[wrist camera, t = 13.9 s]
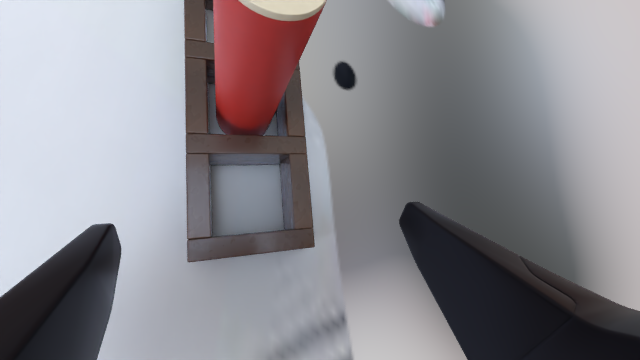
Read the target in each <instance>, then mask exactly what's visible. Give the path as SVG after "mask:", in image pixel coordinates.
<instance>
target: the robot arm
mask: <svg viewBox="0 0 640 360" xmlns="http://www.w3.org/2000/svg"><path fill="white" fill-rule="evenodd" d="M399 224H400V227H401V229H402V232H403V234H404V237H405V239H406V241H407V244H408V246H409V248H410V251H411V253H412V255H413V258H414V260H415V262H416V264H417V266H418V268H419V270H420V272H421V274H422V276H423V277H424V279H425V281H426V283H427V285H428V287H429V289H430V290H431V292H432V294H433V296H434V298H435V300H436V302H437V303H438V305H439V307H440V309H441V311H442V313H443V314H444V316H445V318H446V320H447V322H448V324H449V326H450V328H451V330H452V331H453V333H454V335H455V337H456V339H457V341H458V342H459V344H460V346H461V348H462V350H463V352H464V354H465V356H466V357H467V359H468V360H640V311H637V310H634V309H630V308H627V307H625V306H622V305H619V304H617V303H615V302H612V301H611V300H609V299H607V298H604V297H602V296H600V295H598V294H596V293H594V292H592V291H590V290H587V289H585V288H583V287H581V286H579V285H577V284H575V283H573V282H571V281H569V280H567V279H565V278H563V277H560V276H558V275H556V274H554V273H552V272H550V271H548V270H546V269H544V268H543V267H541V266H539V265H536V264H535V263H533V262H531V261H529V260H527V259H525V258H523V257H521V256H518V255H517V254H515V253H514V252H512V251H509V250H508V249H506V248H504V247H503V246H501V245H499V244H497V243H495V242H493V241H491V240H489V239H487V238H486V237H484V236H482V235H480V234H478V233H476V232H474V231H472V230H470V229H469V228H466V227H465V226H463V225H461V224H459V223H457V222H455V221H454V220H452V219H450V218H448V217H446V216H444V215H442V214H440V213H438V212H437V211H435V210H433V209H431V208H429V207H427V206H425V205H423V204H421V203H419V202H409V203H407V204H406V206H405V208H404V210H403V212H402V215H401V217H400V220H399ZM120 258H121V244H120V241H119V238H118V235H117V232H116V228H115V226H114V225H113V224H111V223H108V224H95V225H92V226H90V227H89V228H88V229H86V230H85V231H84V232H83V233H81V234H80V235H79V236H78V237H76V238H75V239H74V240H72V241H71V242H70V243H69V244H67V245H66V246H65V247H64V248H62V249H61V250H60V251H58V252H57V253H56V254H55V255H53V256H52V257H51V258H50V259H48V260H47V261H46V262H45V263H43V264H42V265H41V266H39V267H38V268H37V269H36V270H34V271H33V272H32V273H31V274H29V275H28V276H27V277H25V278H24V279H23V280H22V281H20V282H19V283H18V284H17V285H15V286H14V287H13V288H11V289H10V290H9V291H8V292H6V293H5V294H4V295H3V296H1V297H0V360H97V357H98V354H99V350H100V347H101V344H102V341H103V337H104V334H105V331H106V327H107V324H108V321H109V317H110V314H111V310H112V304H113V299H114V293H115V287H116V281H117V275H118V270H119V264H120Z"/></svg>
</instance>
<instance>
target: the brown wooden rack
mask: <svg viewBox="0 0 640 360" xmlns="http://www.w3.org/2000/svg"><path fill="white" fill-rule="evenodd" d="M206 9H210V10H213V0H184V24H185V103H186V153H187V154H186V187H187V239H189V240H187V261H188V262H196V261H204V260H212V259H221V258H229V257H237V256H245V255H254V254H262V253H270V252H279V251H287V250H295V249H303V248H312V247H314V246H315V245H314V233H313V220H312V208H311V196H310V184H309V172H308V160H307V150H306V138H305V126H304V115H303V103H302V91H301V80H300V71H299V70H300V68H299V62H298V64H297V66H296V68H295V70H294V73H293V75H292V77H291V79H290V81H289V83H288V85H287V88H286V90H285V92H284V94H283V96H282V98H281V101H280V103H279V105H278V107H277V109H276V111H277V126H278V136H259V135H223V134H209V99H208V83H215V53H214V43H209V42H207V24H206ZM260 164H280V172H281V186H282V201H283V216H284V229H285V230H279V231H268V232H258V233H247V234H236V235H226V236H215V237H212V211H211V173H210V165H260Z"/></svg>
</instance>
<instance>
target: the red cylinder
mask: <svg viewBox="0 0 640 360" xmlns="http://www.w3.org/2000/svg"><path fill="white" fill-rule="evenodd" d="M326 1H327V0H213V13H214V53H215V93H216V118H217V122H218V124H219V126H220V128H221V129H222V130H223V132H224V133H225V134H227V135H259V136H262V135H263V134H264V133H265V132H266V130H267V129H268V127H269V124H270V122H271V120H272V118H273V116H274V114H275V111H276V109H277V107H278V105H279V103H280V101H281V98H282V96H283V94H284V92H285V90H286V88H287V85H288V83H289V81H290V79H291V77H292V75H293V73H294V70H295V68H296V66H297V64H298V62H299V60H300V57H301V55H302V53H303V51H304V49H305V47H306V44H307V42H308V40H309V38H310V36H311V34H312V31H313V29H314V27H315V25H316V23H317V21H318V18H319V16H320V14H321V12H322V10H323V8H324V5H325V3H326Z"/></svg>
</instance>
